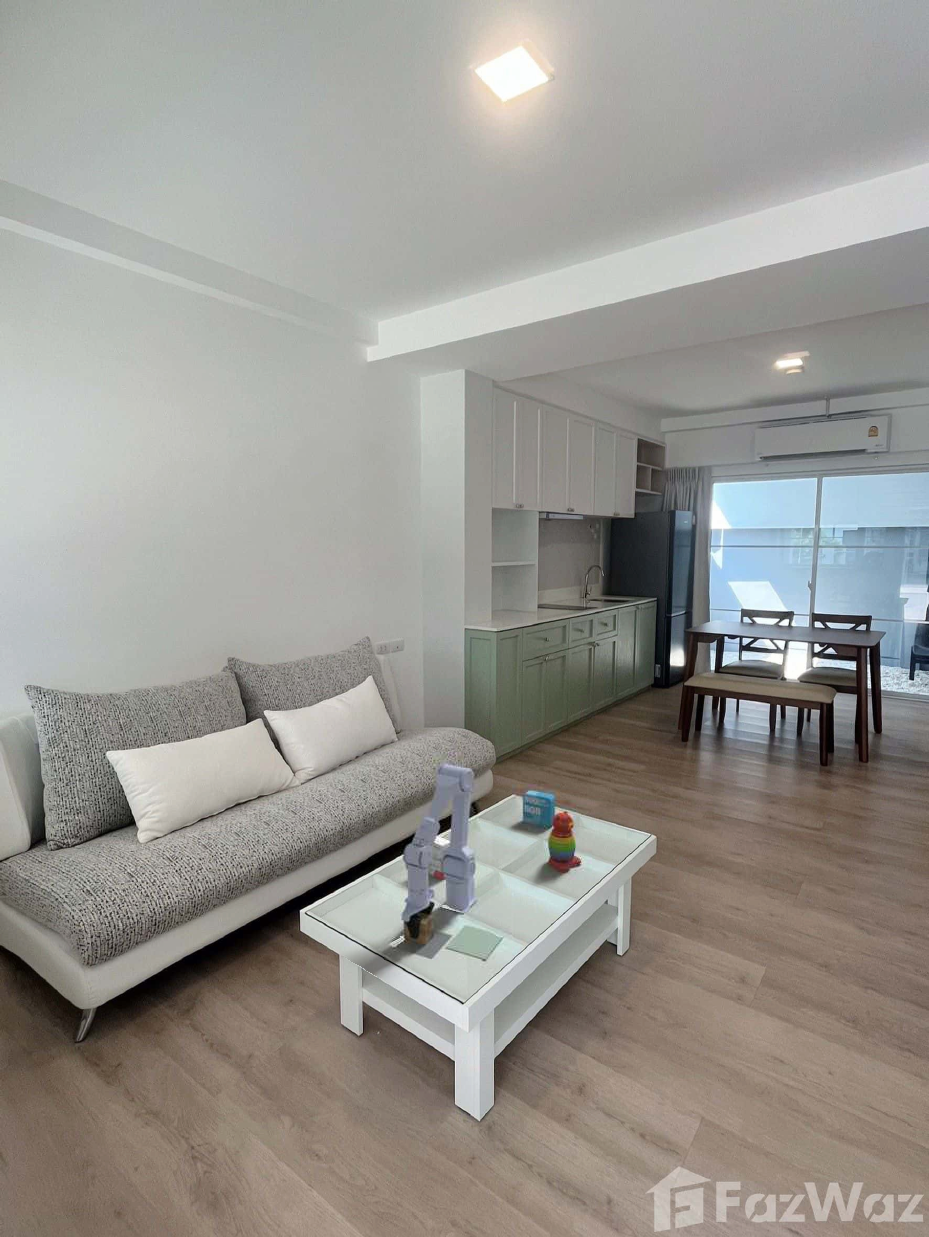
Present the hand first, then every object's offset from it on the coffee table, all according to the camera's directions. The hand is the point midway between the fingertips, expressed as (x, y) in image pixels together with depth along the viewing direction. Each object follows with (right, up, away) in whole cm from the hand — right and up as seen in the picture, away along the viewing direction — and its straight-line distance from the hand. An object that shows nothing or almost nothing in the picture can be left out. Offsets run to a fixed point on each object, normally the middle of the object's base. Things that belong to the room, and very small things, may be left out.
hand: (418, 932), depth 185 cm
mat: (+16, -2, -2) cm, 16 cm away
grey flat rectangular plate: (0, -2, -1) cm, 2 cm away
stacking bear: (+47, +3, +44) cm, 64 cm away
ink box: (+4, +2, +37) cm, 37 cm away
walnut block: (0, -1, 0) cm, 1 cm away
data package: (+42, +7, +77) cm, 88 cm away
